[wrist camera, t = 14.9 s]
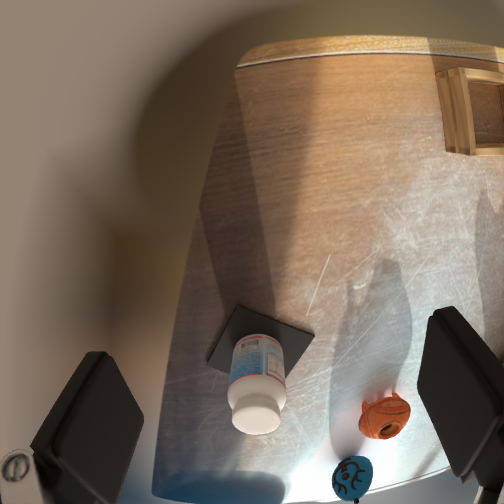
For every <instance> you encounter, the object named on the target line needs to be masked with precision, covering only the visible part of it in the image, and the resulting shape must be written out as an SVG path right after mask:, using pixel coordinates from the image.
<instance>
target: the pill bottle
mask: <svg viewBox="0 0 504 504" xmlns="http://www.w3.org/2000/svg"><path fill="white" fill-rule="evenodd" d="M285 401H286V385H285V372H284V360H283V351H282V347H281V345H280V344H279V343H278V341H277V340H275V339H274V338H272V337H270V336H268V335H264V334H252V335H248V336H245V337H243V338H242V339H241V340H239V341H238V343H237V344H236V346H235V348H234V351H233V358H232V365H231V372H230V380H229V388H228V402H229V404H230V406H231V408H232V409H233V410H232V422H233V424H234V426H235V427H236V428H237V429H239V430H240V431H242V432H245V433H248V434H265V433H268V432H271V431H273V430H274V429H276V428H277V427H278V425H279V424H280V414H281V409H282V408H283V406H284V404H285Z"/></svg>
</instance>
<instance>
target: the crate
mask: <svg viewBox="0 0 504 504" xmlns="http://www.w3.org/2000/svg"><path fill="white" fill-rule="evenodd" d="M435 75H436V80H437V86H438V91H439V97H440V104H441V110H442V118H443V125H444V134H445V143H446V152H450V153H455V154H461V155H466V156H491V155H504V143H484V144H476V143H475V133H474V123H473V115H472V108H471V101H470V95H469V89H468V83H467V82H472V83H482V84H491V85H499V90H500V96H501V103H502V110H503V118H504V73H501V72H494V71H488V70H480V69H472V68H462V67H458V68H454V69H450V70H448V71H442V72H439V73H435Z"/></svg>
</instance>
